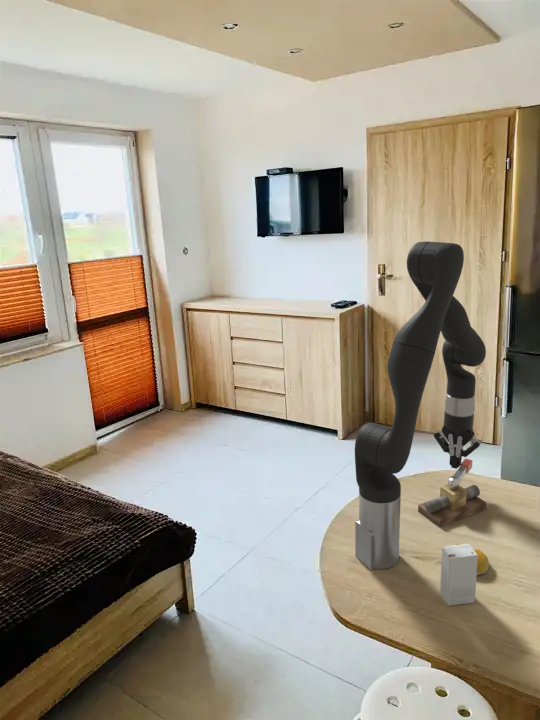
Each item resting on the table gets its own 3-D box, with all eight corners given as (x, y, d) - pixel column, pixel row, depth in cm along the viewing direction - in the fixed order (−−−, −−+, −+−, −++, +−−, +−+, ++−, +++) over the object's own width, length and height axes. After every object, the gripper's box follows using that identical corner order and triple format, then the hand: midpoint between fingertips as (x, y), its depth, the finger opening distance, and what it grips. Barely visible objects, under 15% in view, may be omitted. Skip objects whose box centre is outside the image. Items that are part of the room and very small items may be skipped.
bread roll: (481, 582, 123) (482, 567, 121) (441, 567, 128) (442, 552, 127) (493, 562, 129) (495, 547, 127) (455, 548, 134) (456, 533, 133)
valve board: (439, 527, 142) (440, 502, 140) (418, 511, 149) (418, 488, 146) (486, 509, 148) (488, 485, 146) (464, 494, 155) (465, 472, 153)
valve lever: (457, 490, 144) (457, 482, 144) (446, 487, 146) (446, 479, 145) (473, 468, 154) (474, 460, 154) (463, 465, 156) (463, 458, 155)
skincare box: (466, 589, 120) (469, 541, 117) (475, 604, 116) (479, 555, 112) (438, 592, 120) (441, 544, 116) (446, 607, 116) (449, 558, 112)
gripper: (430, 409, 151) (427, 466, 156) (480, 420, 143) (475, 479, 149) (439, 400, 157) (436, 455, 162) (488, 409, 149) (483, 467, 155)
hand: (455, 467), depth 156 cm, fingers closed
